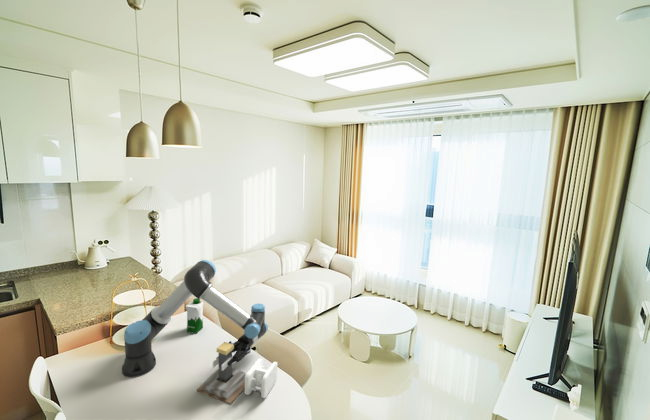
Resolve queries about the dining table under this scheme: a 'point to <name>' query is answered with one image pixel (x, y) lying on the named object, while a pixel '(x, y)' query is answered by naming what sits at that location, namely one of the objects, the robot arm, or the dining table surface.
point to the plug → (225, 359)
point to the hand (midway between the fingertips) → (217, 366)
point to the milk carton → (194, 316)
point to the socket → (224, 386)
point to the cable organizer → (260, 378)
